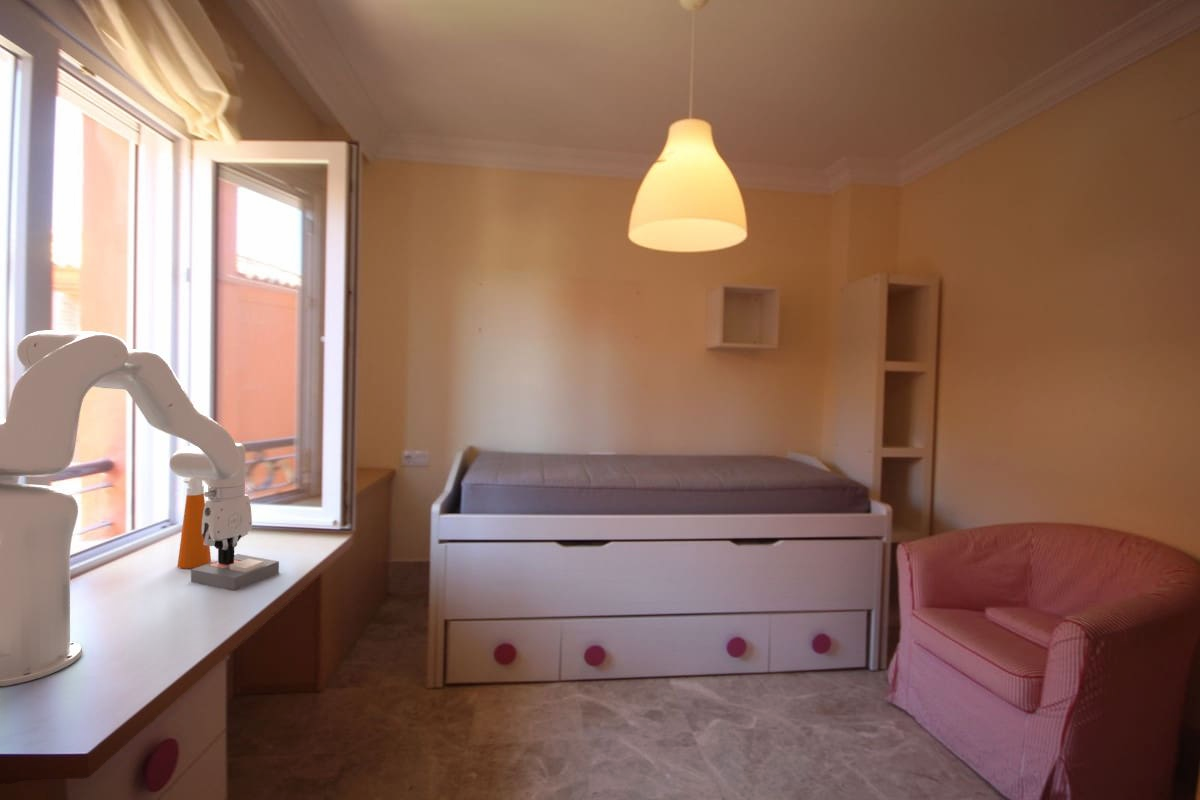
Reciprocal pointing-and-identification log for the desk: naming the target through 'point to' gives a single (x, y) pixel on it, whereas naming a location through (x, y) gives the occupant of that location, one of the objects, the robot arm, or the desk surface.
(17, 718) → the desk surface
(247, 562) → the white key
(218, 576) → the key panel
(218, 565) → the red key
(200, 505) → the spray bottle
